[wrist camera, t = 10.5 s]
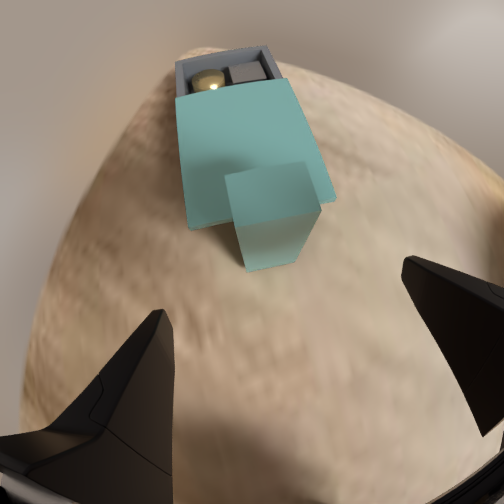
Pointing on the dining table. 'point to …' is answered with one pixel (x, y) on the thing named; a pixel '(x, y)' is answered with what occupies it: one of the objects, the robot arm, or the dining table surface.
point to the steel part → (246, 73)
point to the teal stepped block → (252, 168)
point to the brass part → (208, 80)
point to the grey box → (223, 66)
